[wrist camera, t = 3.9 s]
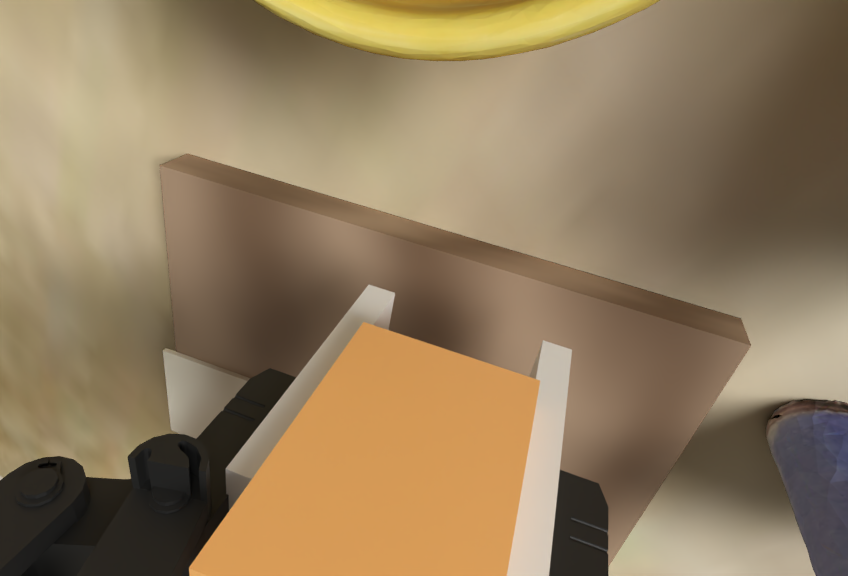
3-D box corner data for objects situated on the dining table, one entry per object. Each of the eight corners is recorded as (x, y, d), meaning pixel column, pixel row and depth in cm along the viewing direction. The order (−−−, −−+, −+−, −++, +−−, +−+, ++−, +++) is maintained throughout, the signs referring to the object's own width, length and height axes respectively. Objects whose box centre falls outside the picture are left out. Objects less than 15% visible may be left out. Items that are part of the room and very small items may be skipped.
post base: (196, 452, 29) (79, 587, 23) (175, 150, 20) (-27, 232, 14) (569, 598, 26) (556, 802, 20) (741, 318, 17) (819, 525, 11)
